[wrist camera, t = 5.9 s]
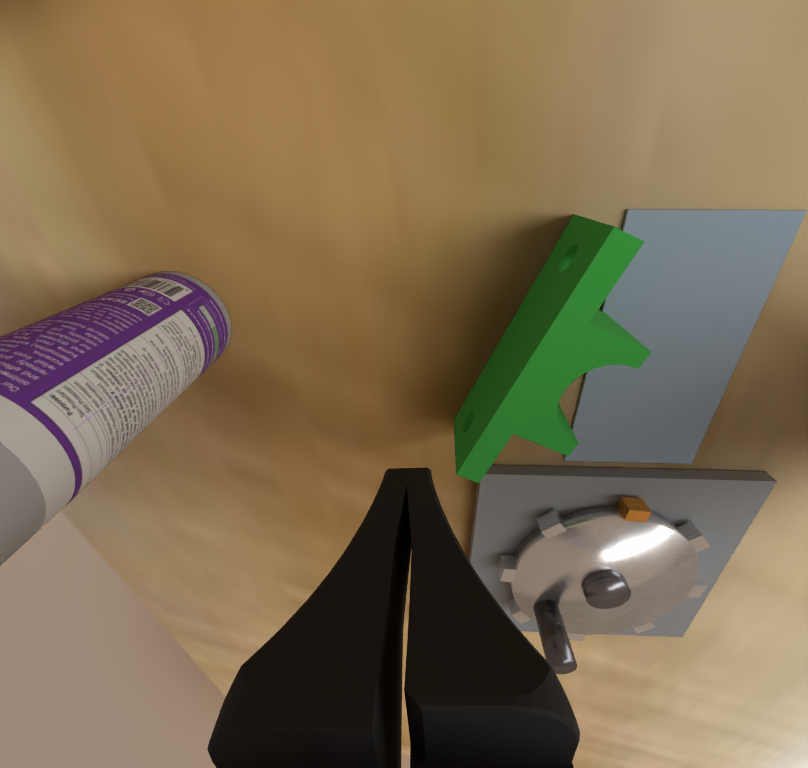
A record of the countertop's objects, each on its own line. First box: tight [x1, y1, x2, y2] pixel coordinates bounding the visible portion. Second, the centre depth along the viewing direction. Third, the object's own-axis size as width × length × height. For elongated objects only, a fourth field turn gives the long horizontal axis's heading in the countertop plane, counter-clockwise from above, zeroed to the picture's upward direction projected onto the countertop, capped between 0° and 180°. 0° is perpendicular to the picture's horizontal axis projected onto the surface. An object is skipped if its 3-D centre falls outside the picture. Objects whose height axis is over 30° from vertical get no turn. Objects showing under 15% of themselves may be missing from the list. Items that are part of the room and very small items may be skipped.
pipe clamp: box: [454, 214, 651, 483], centre depth 17 cm, size 11×4×5 cm, turn 157°
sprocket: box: [498, 497, 710, 674], centre depth 23 cm, size 12×12×4 cm
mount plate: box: [468, 465, 777, 637], centre depth 26 cm, size 16×15×1 cm
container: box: [0, 271, 232, 566], centre depth 13 cm, size 5×5×15 cm
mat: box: [564, 209, 807, 464], centre depth 19 cm, size 7×13×1 cm, turn 0°
